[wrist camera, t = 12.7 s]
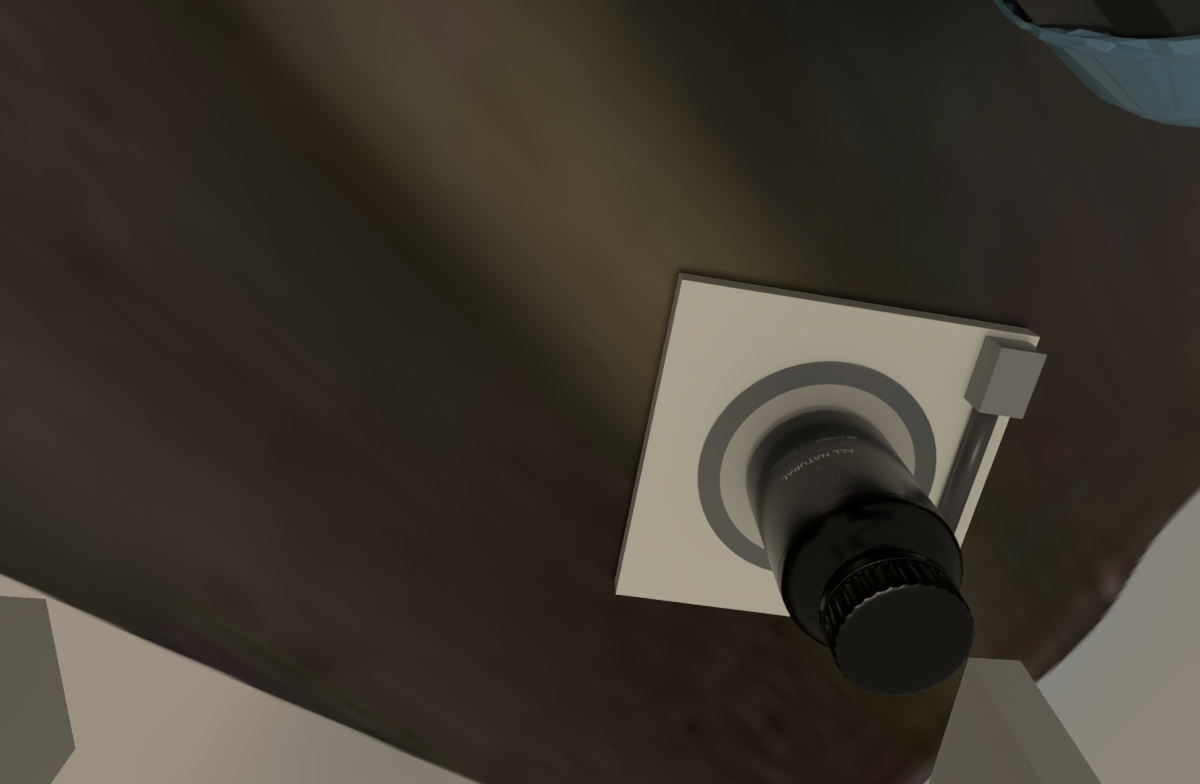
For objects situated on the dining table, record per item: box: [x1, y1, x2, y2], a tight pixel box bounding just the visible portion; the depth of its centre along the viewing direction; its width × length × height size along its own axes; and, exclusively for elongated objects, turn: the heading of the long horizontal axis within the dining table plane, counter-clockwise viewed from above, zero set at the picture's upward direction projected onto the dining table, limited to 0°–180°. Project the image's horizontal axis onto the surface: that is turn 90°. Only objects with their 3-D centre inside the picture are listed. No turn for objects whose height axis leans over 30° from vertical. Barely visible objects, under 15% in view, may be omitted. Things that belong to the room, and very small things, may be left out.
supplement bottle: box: [746, 410, 975, 697], centre depth 35 cm, size 7×7×12 cm
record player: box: [615, 272, 1047, 616], centre depth 41 cm, size 16×16×3 cm
